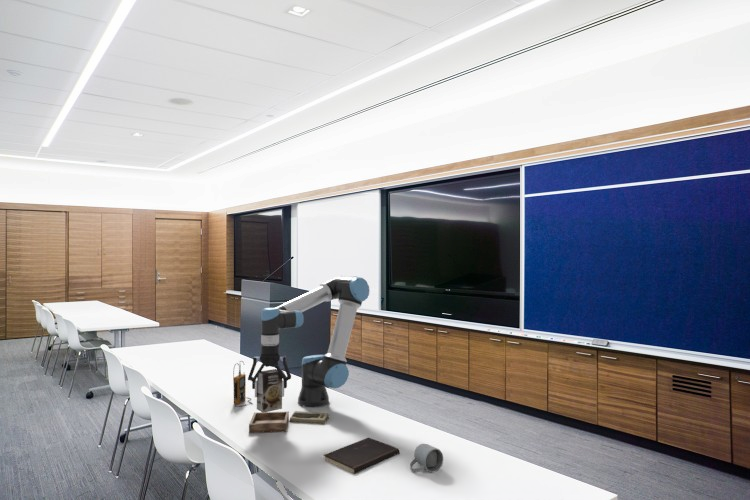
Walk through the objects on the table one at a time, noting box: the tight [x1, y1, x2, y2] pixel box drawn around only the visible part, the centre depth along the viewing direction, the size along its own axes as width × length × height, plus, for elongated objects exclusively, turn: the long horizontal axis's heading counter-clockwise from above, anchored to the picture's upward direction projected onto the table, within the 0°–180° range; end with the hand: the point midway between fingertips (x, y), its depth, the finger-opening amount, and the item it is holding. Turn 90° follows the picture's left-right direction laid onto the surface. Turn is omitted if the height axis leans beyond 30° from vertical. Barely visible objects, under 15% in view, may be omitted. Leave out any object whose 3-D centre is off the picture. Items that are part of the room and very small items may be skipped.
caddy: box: [248, 411, 290, 434], centre depth 204 cm, size 15×15×4 cm
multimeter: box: [232, 360, 253, 408], centre depth 236 cm, size 15×10×20 cm
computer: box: [289, 410, 330, 425], centre depth 212 cm, size 16×8×3 cm, turn 81°
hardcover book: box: [323, 437, 400, 475], centre depth 174 cm, size 16×23×2 cm
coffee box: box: [256, 368, 283, 413], centre depth 204 cm, size 9×6×16 cm
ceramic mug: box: [409, 443, 444, 473], centre depth 164 cm, size 11×8×8 cm
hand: (269, 396), depth 204 cm, fingers closed on coffee box, 11 cm apart
